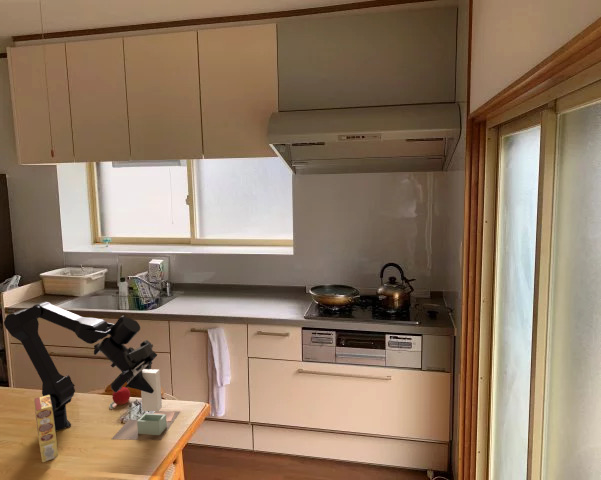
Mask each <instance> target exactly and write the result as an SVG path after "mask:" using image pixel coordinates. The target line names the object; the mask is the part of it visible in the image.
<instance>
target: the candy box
mask: <svg viewBox="0 0 601 480" xmlns="http://www.w3.org/2000/svg"><path fill="white" fill-rule="evenodd" d="M33 400H34V410H35V423H36V429H37V430H36V431H37V437H38V443H39V445H38V446H39V452H40V456H41V457H40V458H41V462H42V463H45V462H48V461H51V460H55V459H56V458H58V456H59V454H58V442H57V435H56V432H55V424H54V416H53V409H52V403H51V398H50V395H47V396H43V395H42V396H38V397H35V398H34V399H33Z"/></svg>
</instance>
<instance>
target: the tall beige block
mask: <svg viewBox="0 0 601 480" xmlns="http://www.w3.org/2000/svg"><path fill="white" fill-rule="evenodd" d="M142 375H143V378H144V379H145V380H146V381H147V382H148V384H149V385H150V386H151V387H152V388H153V390H154V392H153V393H148V392H145V391H141V390H140V393H141V394H140V396H141V406H142V407H141V408H142V410H141V411H161V409H162V408H163V405H162V403H163V402H162V401H163V400H162V399H163V398H162V388H161V373H160V369H156V368H155V369H152V368H151V369H143V370H142Z"/></svg>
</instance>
